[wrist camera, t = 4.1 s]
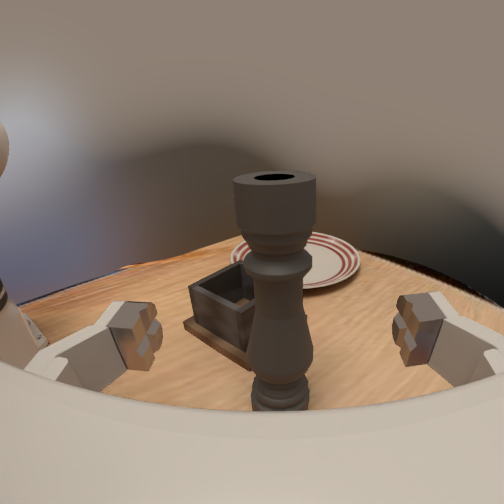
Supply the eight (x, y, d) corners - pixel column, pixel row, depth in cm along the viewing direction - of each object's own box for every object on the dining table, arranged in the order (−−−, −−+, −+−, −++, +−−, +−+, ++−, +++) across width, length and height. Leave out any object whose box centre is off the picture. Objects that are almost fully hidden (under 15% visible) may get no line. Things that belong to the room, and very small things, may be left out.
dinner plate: (365, 249, 68) (366, 236, 67) (348, 312, 46) (350, 295, 44) (263, 237, 80) (262, 225, 78) (206, 285, 57) (204, 270, 56)
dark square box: (184, 329, 44) (174, 285, 41) (241, 294, 53) (237, 254, 50) (249, 371, 36) (244, 323, 32) (306, 322, 44) (308, 277, 41)
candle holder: (263, 385, 33) (248, 170, 23) (313, 395, 31) (325, 171, 21) (244, 423, 28) (211, 185, 18) (299, 437, 26) (311, 187, 16)
